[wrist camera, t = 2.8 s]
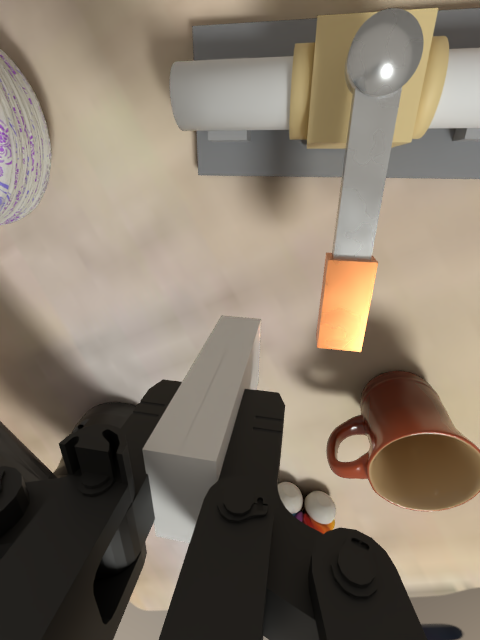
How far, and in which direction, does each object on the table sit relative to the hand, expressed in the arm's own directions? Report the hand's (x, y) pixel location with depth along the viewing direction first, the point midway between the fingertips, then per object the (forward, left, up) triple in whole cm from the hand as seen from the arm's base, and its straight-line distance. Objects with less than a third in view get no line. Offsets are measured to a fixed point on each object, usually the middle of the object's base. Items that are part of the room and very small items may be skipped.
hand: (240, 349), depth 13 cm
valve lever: (+5, +4, -9) cm, 11 cm away
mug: (+12, -16, -21) cm, 29 cm away
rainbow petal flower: (+5, -35, -21) cm, 41 cm away
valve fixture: (+5, +11, -20) cm, 23 cm away
